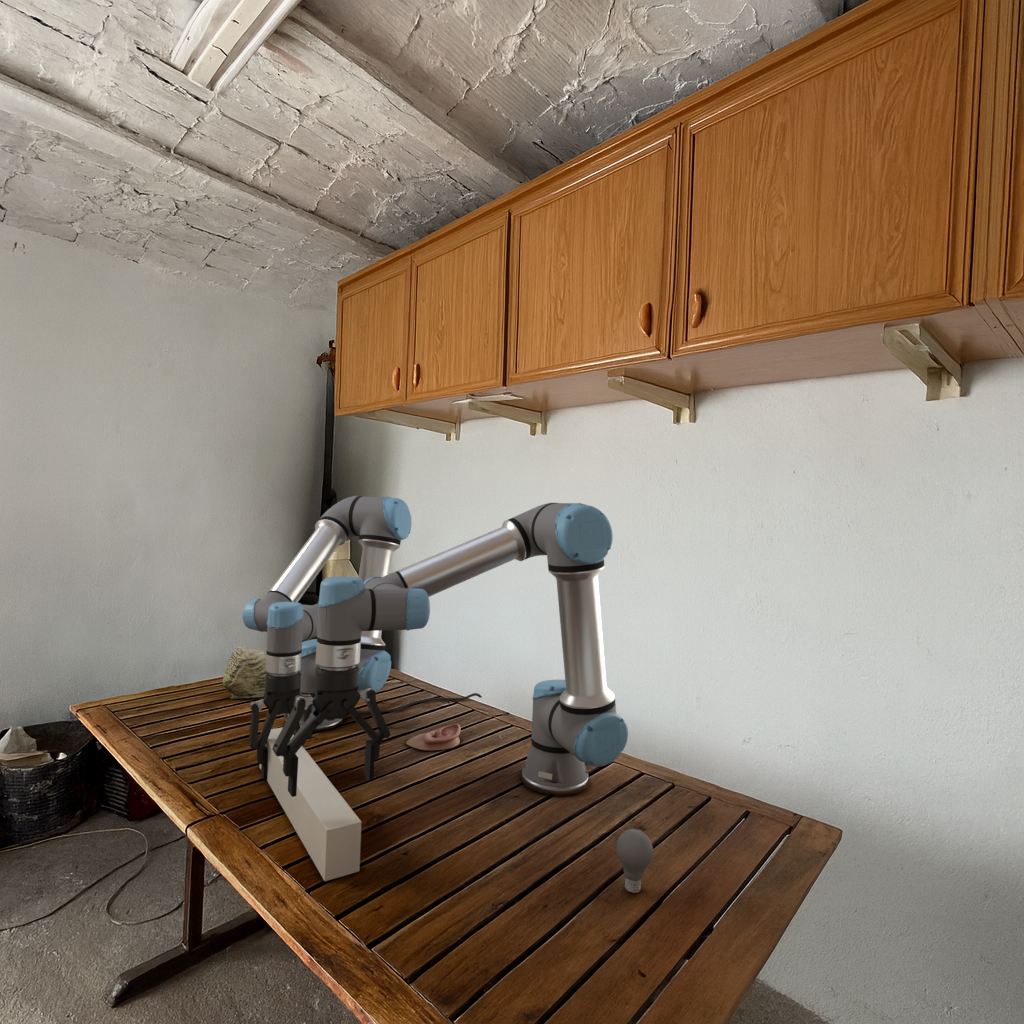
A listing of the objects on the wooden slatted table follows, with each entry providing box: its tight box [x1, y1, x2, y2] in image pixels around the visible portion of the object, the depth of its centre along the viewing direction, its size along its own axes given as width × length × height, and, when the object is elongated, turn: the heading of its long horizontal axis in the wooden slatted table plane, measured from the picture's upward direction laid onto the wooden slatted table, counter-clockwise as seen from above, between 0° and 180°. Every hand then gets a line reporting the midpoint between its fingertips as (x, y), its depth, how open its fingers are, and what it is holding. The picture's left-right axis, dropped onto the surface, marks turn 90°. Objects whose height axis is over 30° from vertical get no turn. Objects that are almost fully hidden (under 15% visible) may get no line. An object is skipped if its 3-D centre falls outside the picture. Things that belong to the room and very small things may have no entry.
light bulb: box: [615, 828, 654, 894], centre depth 106 cm, size 6×6×10 cm
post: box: [258, 726, 362, 882], centre depth 127 cm, size 50×6×9 cm, turn 33°
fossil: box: [222, 646, 268, 699], centre depth 198 cm, size 9×18×15 cm, turn 132°
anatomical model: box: [405, 723, 462, 751], centre depth 165 cm, size 13×4×12 cm
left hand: (279, 773), depth 143 cm, fingers closed on post, 6 cm apart
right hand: (331, 785), depth 111 cm, fingers open, 13 cm apart
